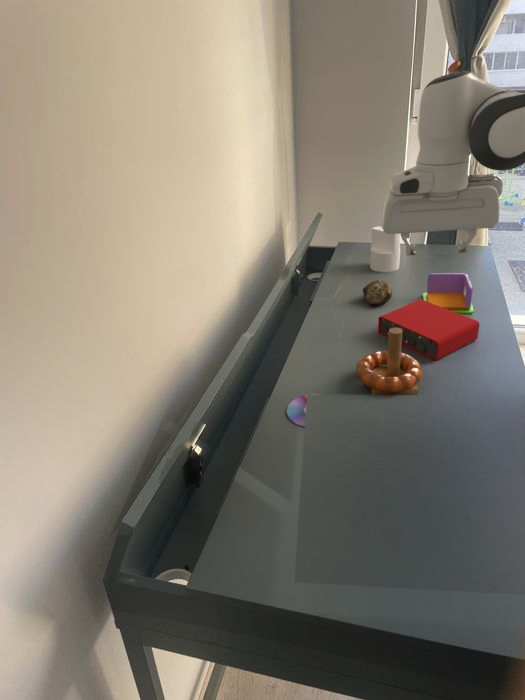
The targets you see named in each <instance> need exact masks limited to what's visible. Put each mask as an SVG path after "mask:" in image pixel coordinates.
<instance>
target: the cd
mask: <svg viewBox="0 0 525 700" xmlns="http://www.w3.org/2000/svg"><path fill="white" fill-rule="evenodd" d="M310 395H311V396H312V395H313V396H314V395H318V396H319V395H320V396H321V395H323V394H322V393H321V394H320V393H319V394H318V393H310ZM307 403H308V394H304V395H300V396H298V397H296V398H295V399H294V398H293V400H292V401H291V402H290V403H289V404H287V408H286V415H287V418H288V419H289V420H290V421H291V422H293V423H294V424H295V425H298V426H301V427H304V428H305V427H306V419H307Z"/></svg>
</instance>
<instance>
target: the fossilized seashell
mask: <svg viewBox="0 0 525 700" xmlns="http://www.w3.org/2000/svg"><path fill="white" fill-rule="evenodd" d="M362 292H363V295H364V296H363V297H364V298H365V300H366V301H367V303H368V304H369V305H372V306H382V305H384V304H386V303H388V302H389V301H390V299H392V296H393V288H392V287H391V286H390V285H389V283H388V282H387V281H386V280H381V279H379V280H374V281H372V282H370V283H368V284H367V285H365V286H364V287H363V288H362Z"/></svg>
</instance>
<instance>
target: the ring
mask: <svg viewBox="0 0 525 700" xmlns="http://www.w3.org/2000/svg"><path fill="white" fill-rule="evenodd" d="M387 357H388V350H377V351H374V352H372V353H368V354H366V355H364V356H363V357H361V359H360V360H359V361H358V362H357V363H356V367H355V368H356V377H357V378H358V380H359V381H360V382H362V383H363V385H365V386H366V387H367V388H370V389H371V388H373V389H376V390H379V391H382V392H401V391H404V390H407V389H410V388H413V387H414V386H416V384H417V385H418V383H419V382H420V381H421V380H422V378H423V375H424V374H423V369H422V366H421V363H420V362H419V361H418V360H417V359H415V358H414V357H412V356H411V355H409V354H407V353H403V352H401V359H400V367H402V368H403V369H404V370H406V371H407V372H406V374H404V375H401V376H398V377H384V376H381V375H378V374H375V373H374V372H373V371H371V369H372V368H373V367H376V366H387Z"/></svg>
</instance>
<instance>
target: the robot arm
mask: <svg viewBox="0 0 525 700" xmlns="http://www.w3.org/2000/svg"><path fill="white" fill-rule="evenodd" d="M416 131H417V133H416V134H417V139H418V151H417V155H416V159H415V166H413V167H410V168H408V169H406V170H402V171H400V172H398V173H395V174H393V175H391V176H390V178H389V191H388V192H387V193H386V195H385V197H384V200H383V206H382V213H381V227H382V229H383V230H384V232H385V233H386V234H401V236H400V238H401V240H402V241H403V243H404V245H405V247H406V249H405V253H406V256H416V249H417V248H416V245H415V243H410V241H409V239H410V238H411V234H415V233H431V232H449V231H463V230H465V232H466V235H465V237H464V238H463V240H459V241H458V243H457V245H458V246H457V252H458V253H460V254H461V253H469V247H470V246H469V245H470V244H471V242H472V241H473V239H475V238H476V236H477V231H478V230H479V229H480V230H481V229H493V228H494V227H496V226H497V225H498V223H499V222H500V197H501V196H502V194H503V187H504V181H503V179H502V178H501V177H500V176H498V175H496V174H495V173H486V174H470V166H471V165H470V164H471V156H472V157H473V159H475V160H476V162H477V163H479V164H480V165H481V166H483V167H485V168H487V169H489V170H493V171H501V172H503V171H509V170H513V169H517V168H519V167H521V166H523V165H524V164H525V92H524V93H520V92H519V91H515V90H512V89H506V88H503V87H501V86H497V85H494V84H493V83H492V84H491V83H490V82H487V81H486V80H484V79H482V78H480V77H479V76H477V75H476V74H474V72H473V71H469V70H459V71H455V72H451V73H448V74H444V75H441V76H439V77H436V78H434V79H432V80H431V81H429V82H428V83H427V84H426V85H425V87H424V88H423V90H422V93H421V97H420V101H419V108H418V117H417V129H416Z"/></svg>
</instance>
